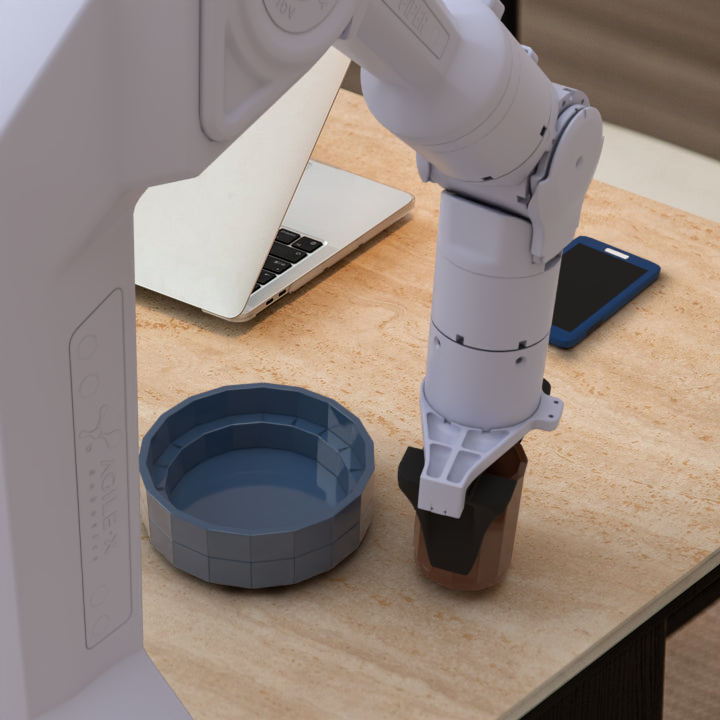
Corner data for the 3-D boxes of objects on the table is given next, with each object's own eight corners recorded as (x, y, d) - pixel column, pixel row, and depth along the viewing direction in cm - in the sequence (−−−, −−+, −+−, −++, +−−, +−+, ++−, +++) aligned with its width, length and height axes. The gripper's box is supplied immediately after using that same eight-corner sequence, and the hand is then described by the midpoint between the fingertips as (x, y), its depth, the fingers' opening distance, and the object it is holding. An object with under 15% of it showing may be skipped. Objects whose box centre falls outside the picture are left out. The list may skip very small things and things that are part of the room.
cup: (488, 605, 65) (502, 505, 61) (395, 566, 67) (402, 466, 63) (528, 543, 69) (544, 445, 65) (439, 508, 71) (449, 411, 67)
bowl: (296, 631, 64) (297, 569, 62) (95, 538, 69) (88, 477, 67) (411, 488, 74) (416, 429, 71) (226, 416, 79) (225, 358, 76)
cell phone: (663, 274, 94) (665, 265, 94) (567, 352, 86) (568, 343, 85) (580, 240, 98) (581, 232, 98) (479, 312, 89) (480, 304, 89)
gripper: (540, 426, 52) (506, 646, 60) (601, 261, 63) (566, 465, 71) (381, 388, 54) (368, 607, 62) (468, 235, 65) (447, 436, 73)
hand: (465, 529), depth 67 cm, fingers closed on cup, 5 cm apart
